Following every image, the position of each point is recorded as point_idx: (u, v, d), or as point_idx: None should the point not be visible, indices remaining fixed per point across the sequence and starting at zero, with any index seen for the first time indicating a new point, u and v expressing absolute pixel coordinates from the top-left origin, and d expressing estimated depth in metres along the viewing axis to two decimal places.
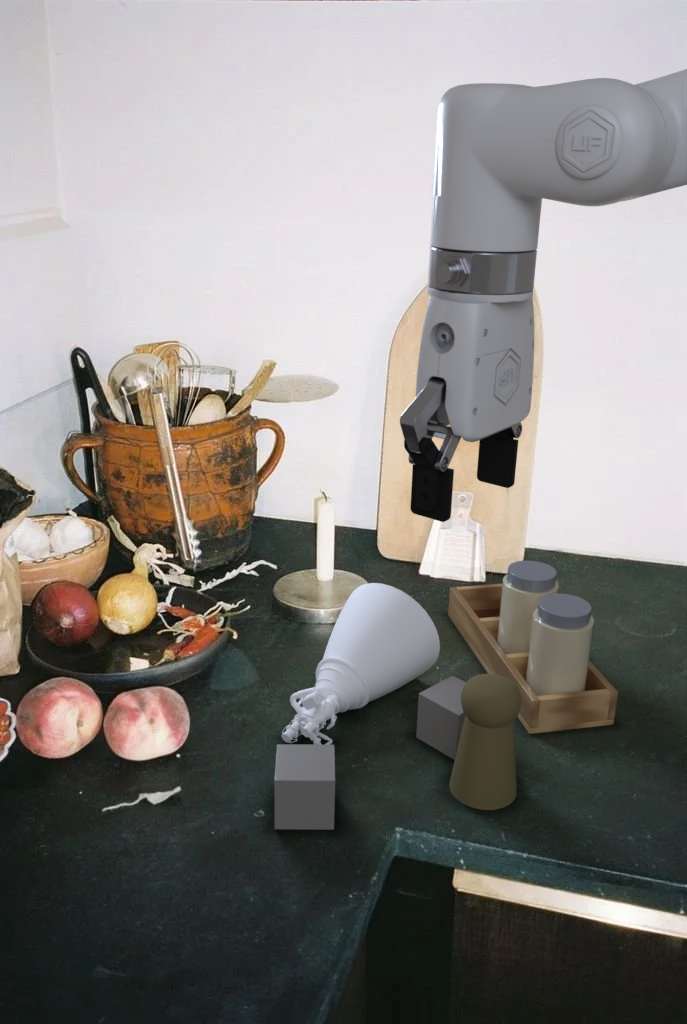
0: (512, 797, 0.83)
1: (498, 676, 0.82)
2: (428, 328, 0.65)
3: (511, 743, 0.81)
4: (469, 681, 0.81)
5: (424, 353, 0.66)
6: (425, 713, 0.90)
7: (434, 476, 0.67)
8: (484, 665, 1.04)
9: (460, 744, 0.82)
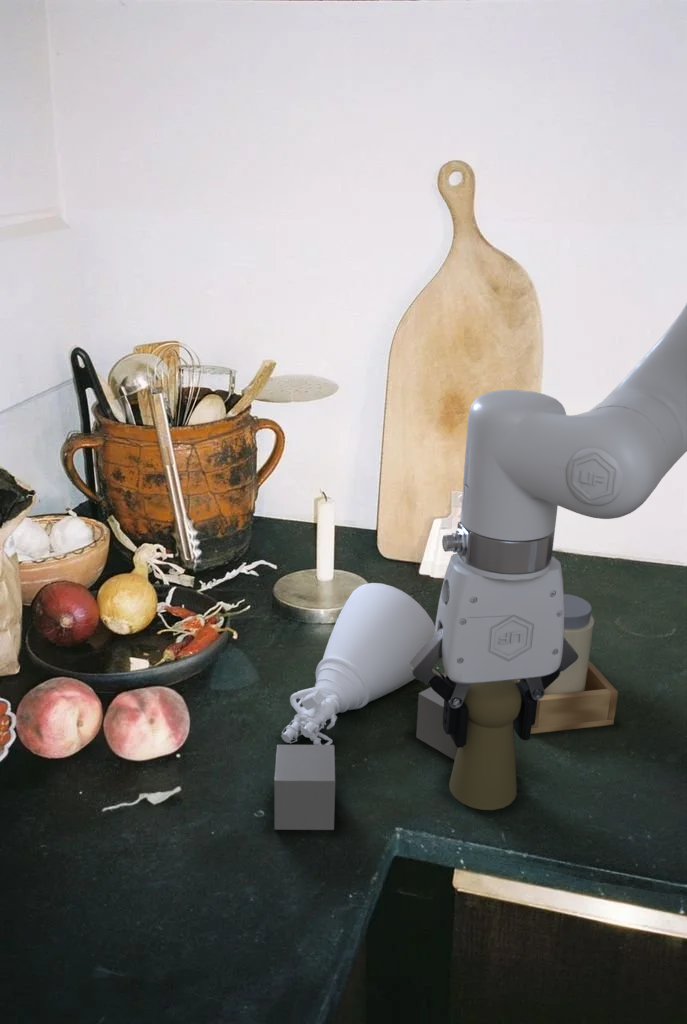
0: (512, 797, 0.83)
1: None
2: (444, 580, 0.77)
3: (511, 743, 0.81)
4: None
5: (440, 599, 0.78)
6: (425, 713, 0.90)
7: (449, 709, 0.80)
8: None
9: None
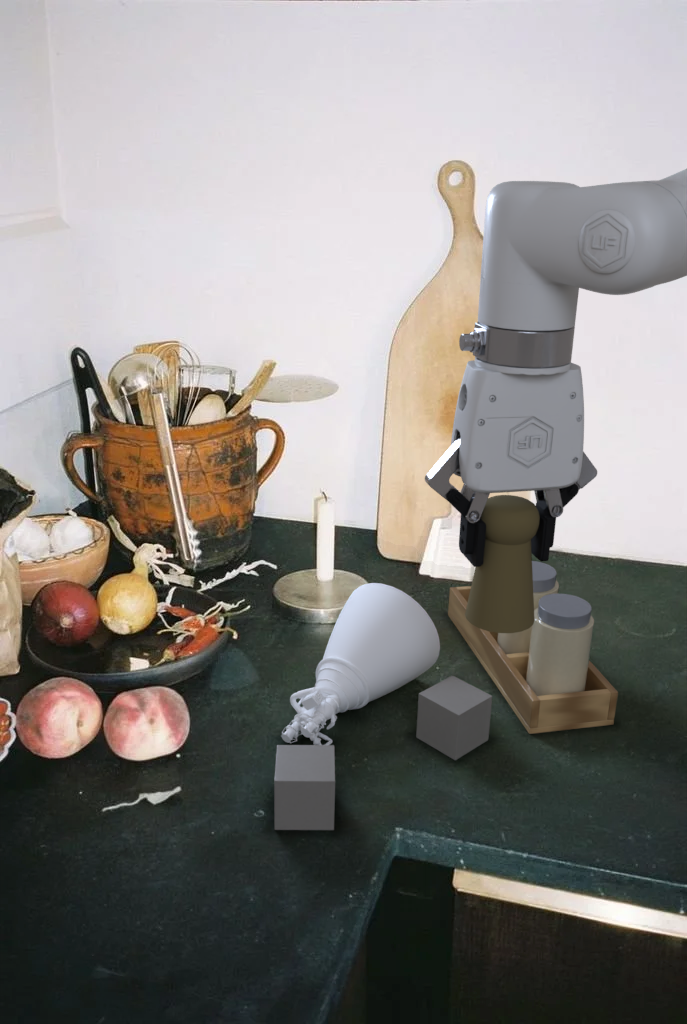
0: (530, 622, 0.81)
1: (515, 496, 0.80)
2: (460, 387, 0.75)
3: (530, 564, 0.79)
4: None
5: (456, 408, 0.76)
6: (425, 713, 0.90)
7: (467, 525, 0.77)
8: (484, 665, 1.04)
9: (477, 568, 0.80)
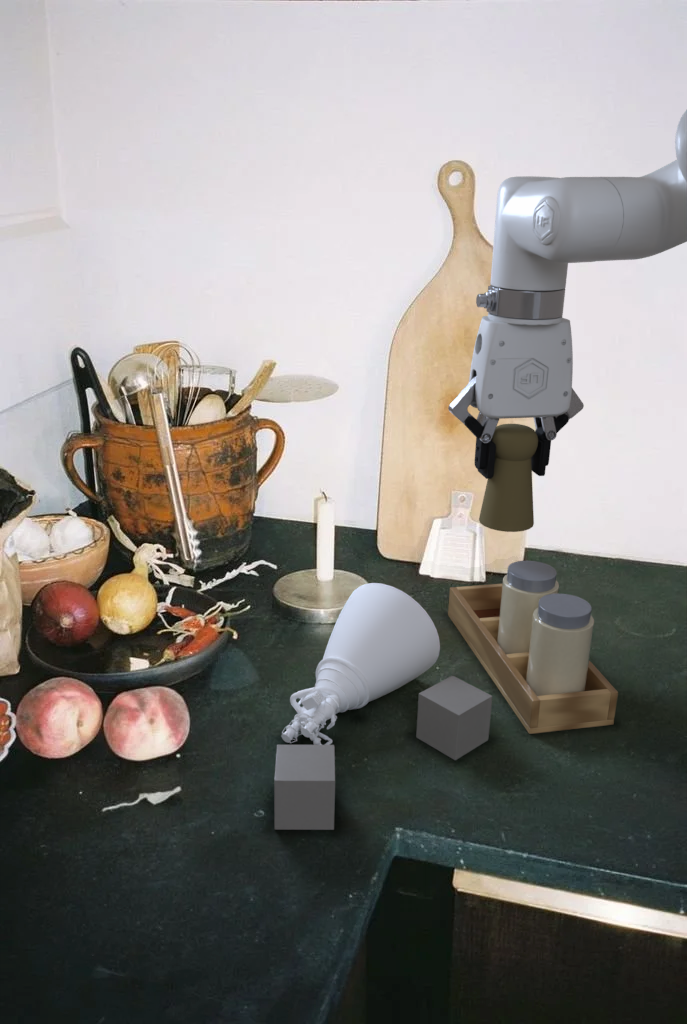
0: (530, 524, 1.02)
1: (519, 424, 1.01)
2: (477, 337, 0.97)
3: (530, 477, 1.01)
4: (496, 427, 1.01)
5: (473, 353, 0.98)
6: (425, 713, 0.90)
7: (481, 445, 0.99)
8: (484, 665, 1.04)
9: (488, 481, 1.02)
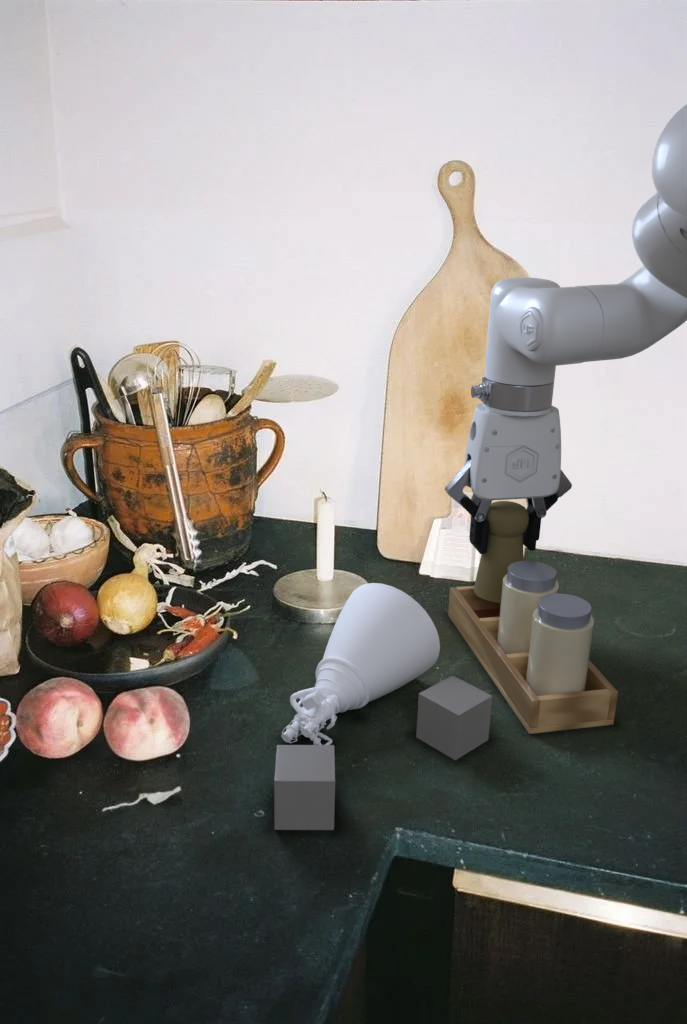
0: None
1: (511, 502, 1.08)
2: (471, 423, 1.04)
3: (521, 552, 1.08)
4: None
5: (468, 438, 1.04)
6: (425, 713, 0.90)
7: (475, 523, 1.06)
8: (484, 665, 1.04)
9: (482, 554, 1.09)
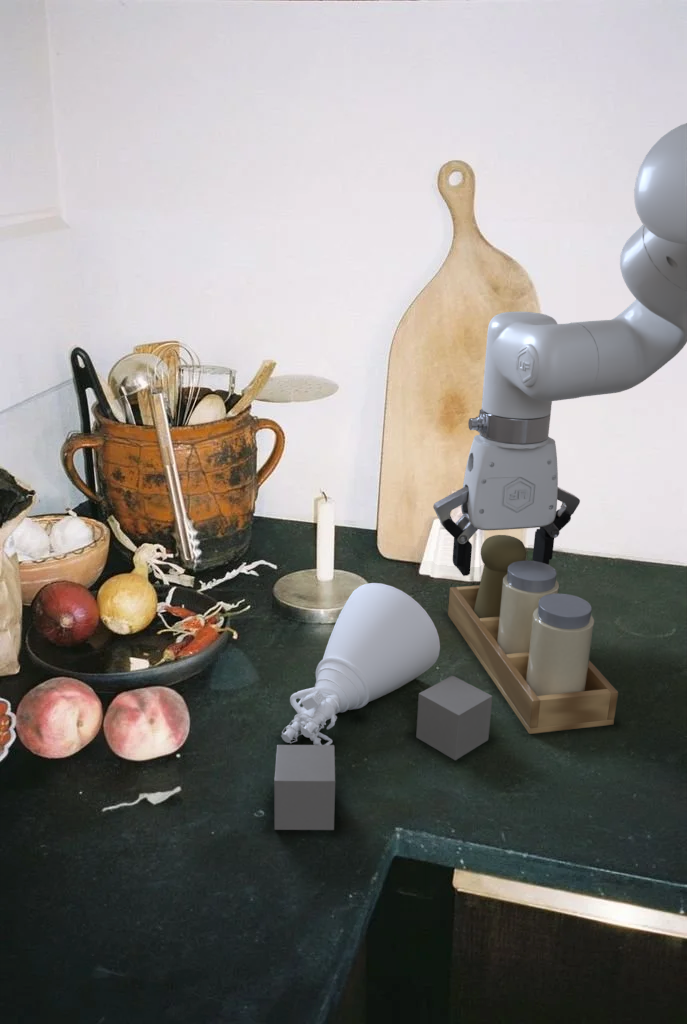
0: None
1: (508, 536, 1.09)
2: (469, 454, 1.05)
3: None
4: (487, 539, 1.09)
5: (466, 469, 1.06)
6: (425, 713, 0.90)
7: (458, 545, 1.06)
8: (484, 665, 1.04)
9: (480, 588, 1.10)
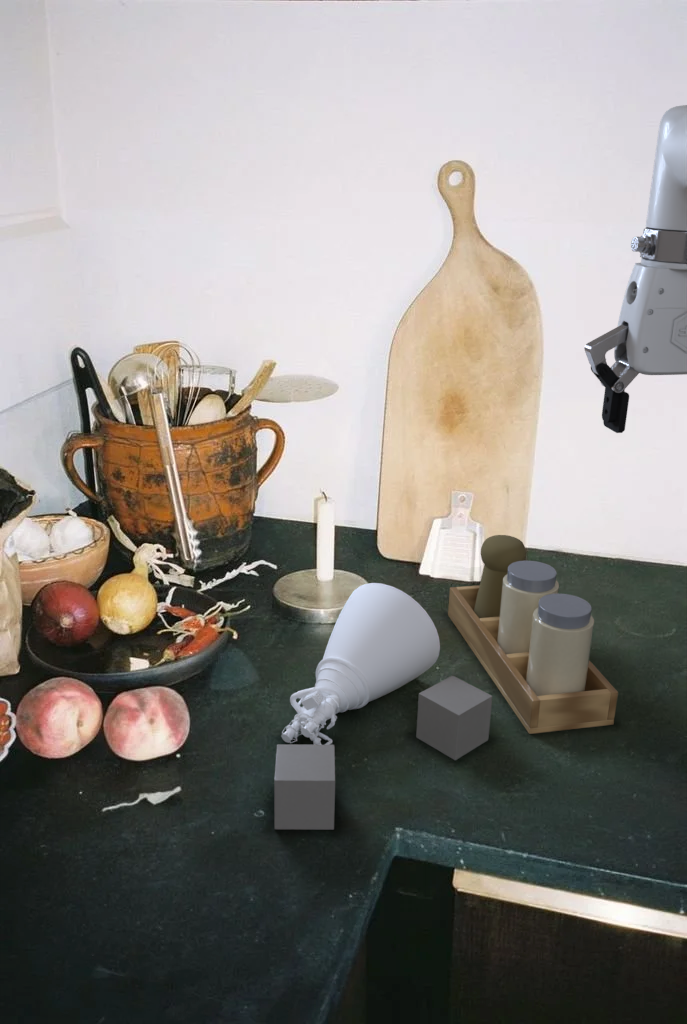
0: None
1: (508, 536, 1.09)
2: (628, 285, 0.89)
3: None
4: (487, 539, 1.09)
5: (623, 304, 0.89)
6: (425, 713, 0.90)
7: (612, 396, 0.90)
8: (484, 665, 1.04)
9: (480, 588, 1.10)
